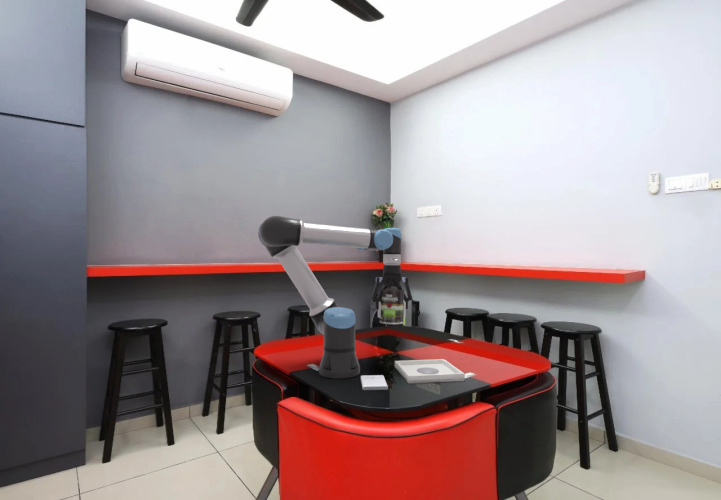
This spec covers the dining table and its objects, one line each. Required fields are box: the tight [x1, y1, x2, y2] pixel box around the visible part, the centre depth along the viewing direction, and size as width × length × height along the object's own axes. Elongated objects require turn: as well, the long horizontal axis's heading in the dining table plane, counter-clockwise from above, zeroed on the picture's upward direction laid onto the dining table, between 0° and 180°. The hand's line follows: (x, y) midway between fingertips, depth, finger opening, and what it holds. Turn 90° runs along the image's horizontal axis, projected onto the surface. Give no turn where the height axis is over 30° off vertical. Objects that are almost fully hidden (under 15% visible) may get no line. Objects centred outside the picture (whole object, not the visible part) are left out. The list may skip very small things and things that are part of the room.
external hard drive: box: [360, 374, 389, 391], centre depth 134 cm, size 2×8×12 cm
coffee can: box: [379, 287, 405, 325], centre depth 167 cm, size 10×10×14 cm
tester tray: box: [394, 358, 466, 384], centre depth 145 cm, size 20×20×2 cm
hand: (391, 317), depth 167 cm, fingers closed on coffee can, 10 cm apart
